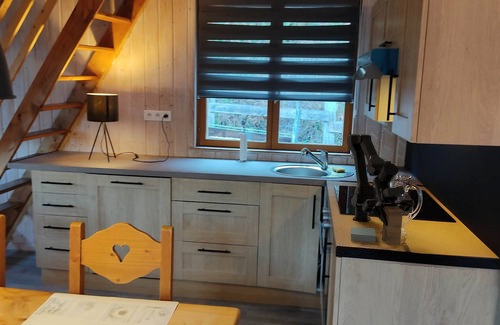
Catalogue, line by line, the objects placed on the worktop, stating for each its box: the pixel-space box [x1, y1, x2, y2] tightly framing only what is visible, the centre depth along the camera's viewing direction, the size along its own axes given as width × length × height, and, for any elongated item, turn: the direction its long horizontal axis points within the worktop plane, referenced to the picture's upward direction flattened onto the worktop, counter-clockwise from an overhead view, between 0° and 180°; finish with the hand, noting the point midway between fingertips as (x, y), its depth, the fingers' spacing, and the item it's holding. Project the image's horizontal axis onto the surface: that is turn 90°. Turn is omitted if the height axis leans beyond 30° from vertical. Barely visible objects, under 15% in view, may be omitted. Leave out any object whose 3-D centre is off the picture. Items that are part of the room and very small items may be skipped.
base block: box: [350, 226, 377, 243], centre depth 173 cm, size 9×9×3 cm
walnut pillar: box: [381, 207, 404, 245], centre depth 168 cm, size 5×5×13 cm
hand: (393, 225), depth 166 cm, fingers closed on walnut pillar, 5 cm apart
